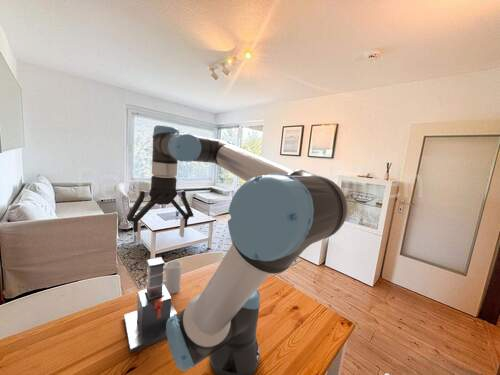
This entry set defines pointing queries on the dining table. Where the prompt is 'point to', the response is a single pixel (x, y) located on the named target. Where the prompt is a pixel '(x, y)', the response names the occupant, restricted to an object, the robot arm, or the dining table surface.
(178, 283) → the mug
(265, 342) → the dining table surface
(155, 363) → the dining table surface
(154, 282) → the column
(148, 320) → the sleeve
